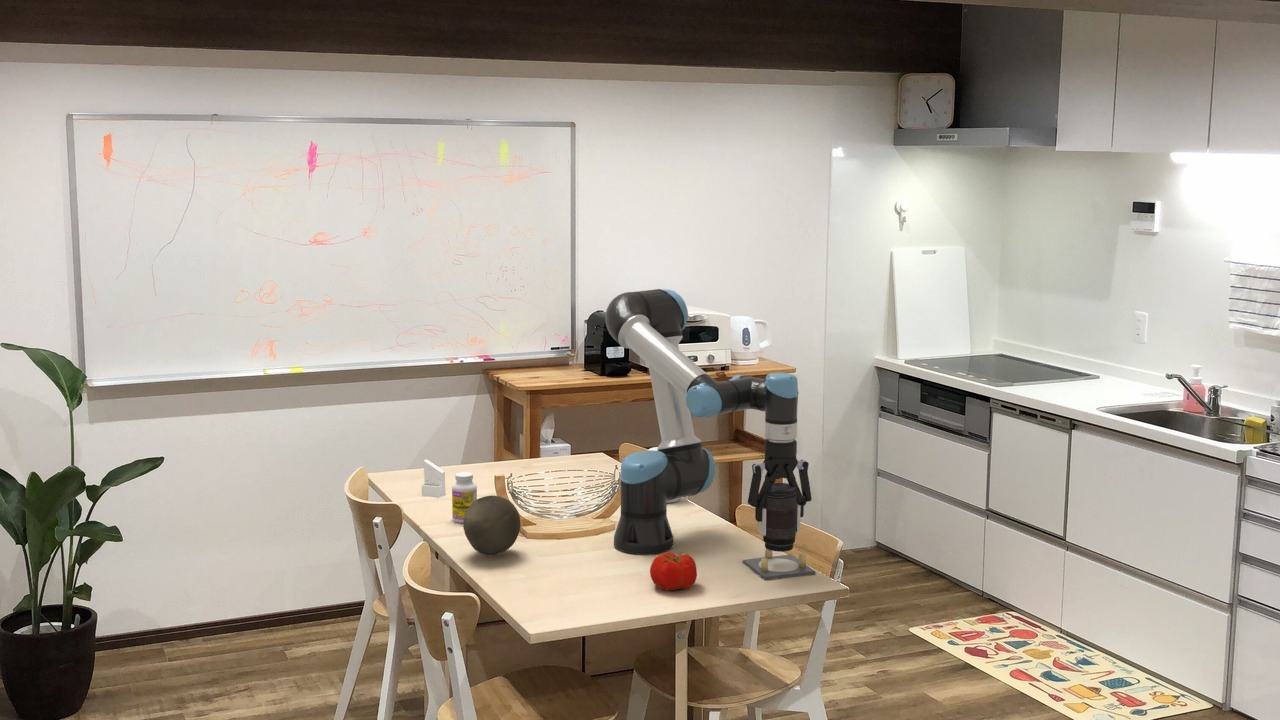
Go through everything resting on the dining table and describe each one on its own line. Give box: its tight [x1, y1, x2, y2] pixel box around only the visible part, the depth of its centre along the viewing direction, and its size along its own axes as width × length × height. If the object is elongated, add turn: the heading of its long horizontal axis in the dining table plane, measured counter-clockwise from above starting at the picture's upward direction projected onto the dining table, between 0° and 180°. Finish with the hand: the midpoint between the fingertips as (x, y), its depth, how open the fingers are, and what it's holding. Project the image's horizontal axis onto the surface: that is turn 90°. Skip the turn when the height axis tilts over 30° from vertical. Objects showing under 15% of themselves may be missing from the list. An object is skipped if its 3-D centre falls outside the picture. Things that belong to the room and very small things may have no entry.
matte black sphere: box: [462, 495, 521, 557], centre depth 303 cm, size 14×14×15 cm
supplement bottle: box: [451, 471, 478, 524], centre depth 333 cm, size 7×7×13 cm
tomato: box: [649, 551, 698, 591], centre depth 282 cm, size 11×11×8 cm
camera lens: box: [762, 482, 797, 553], centre depth 293 cm, size 8×8×15 cm
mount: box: [742, 548, 816, 581], centre depth 294 cm, size 13×13×4 cm
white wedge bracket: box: [421, 459, 446, 498], centre depth 358 cm, size 4×10×9 cm
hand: (779, 532), depth 293 cm, fingers closed on camera lens, 8 cm apart
